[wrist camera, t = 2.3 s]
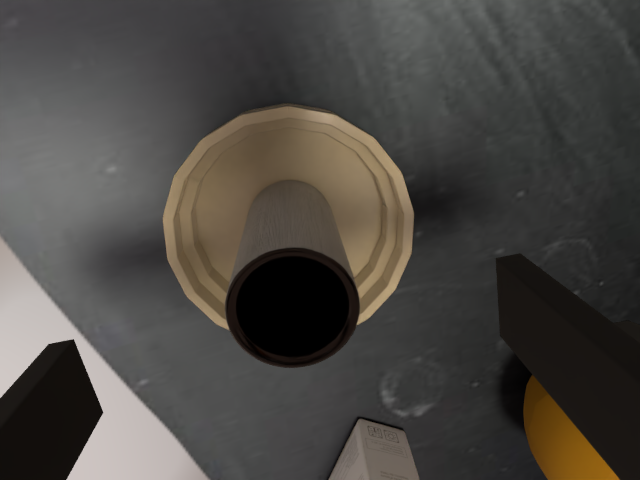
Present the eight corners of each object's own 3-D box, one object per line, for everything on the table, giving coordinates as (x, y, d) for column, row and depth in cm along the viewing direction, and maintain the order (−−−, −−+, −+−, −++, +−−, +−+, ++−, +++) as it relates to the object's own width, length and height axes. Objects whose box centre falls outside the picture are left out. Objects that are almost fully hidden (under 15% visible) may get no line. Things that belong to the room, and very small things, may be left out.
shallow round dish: (147, 128, 24) (128, 136, 21) (386, 83, 24) (400, 84, 21) (208, 334, 28) (199, 364, 25) (412, 295, 28) (426, 320, 25)
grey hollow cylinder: (238, 188, 25) (208, 263, 15) (324, 171, 25) (349, 235, 15) (258, 266, 26) (242, 381, 16) (338, 250, 26) (370, 355, 16)
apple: (646, 328, 30) (786, 428, 21) (598, 436, 32) (707, 563, 24) (518, 313, 29) (614, 412, 20) (480, 426, 31) (551, 554, 23)
